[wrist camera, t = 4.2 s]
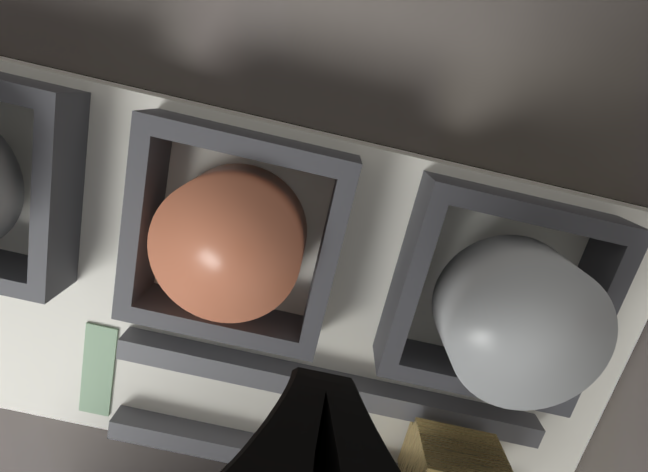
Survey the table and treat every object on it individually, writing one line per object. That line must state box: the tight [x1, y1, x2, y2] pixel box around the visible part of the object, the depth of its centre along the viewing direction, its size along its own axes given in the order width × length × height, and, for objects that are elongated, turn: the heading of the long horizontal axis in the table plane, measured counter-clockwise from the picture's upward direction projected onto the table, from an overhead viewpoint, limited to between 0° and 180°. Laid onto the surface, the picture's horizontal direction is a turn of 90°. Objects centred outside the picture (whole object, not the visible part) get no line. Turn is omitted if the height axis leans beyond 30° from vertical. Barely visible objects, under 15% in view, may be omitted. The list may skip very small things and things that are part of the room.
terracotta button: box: [147, 164, 307, 323], centre depth 15 cm, size 5×5×2 cm
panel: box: [0, 56, 648, 472], centre depth 17 cm, size 14×32×4 cm, turn 77°
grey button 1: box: [432, 235, 618, 411], centre depth 14 cm, size 5×5×2 cm
